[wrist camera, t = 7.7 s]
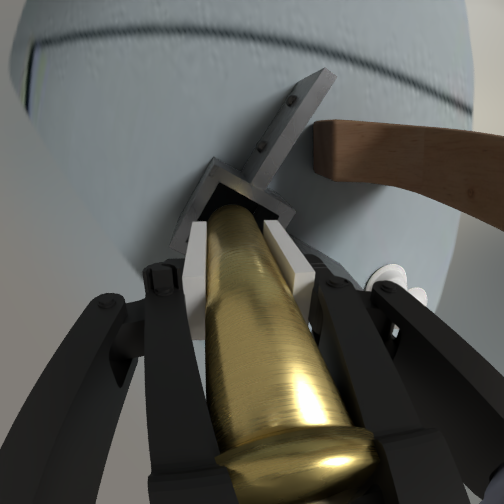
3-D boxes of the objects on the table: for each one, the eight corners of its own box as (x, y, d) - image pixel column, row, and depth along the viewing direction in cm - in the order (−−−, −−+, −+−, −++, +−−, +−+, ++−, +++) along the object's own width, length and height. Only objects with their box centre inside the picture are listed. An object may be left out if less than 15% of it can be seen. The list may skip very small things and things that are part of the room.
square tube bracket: (272, 65, 20) (291, 45, 15) (403, 164, 25) (444, 175, 19) (178, 220, 24) (168, 247, 19) (319, 292, 29) (342, 328, 23)
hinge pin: (201, 200, 18) (179, 483, 3) (261, 199, 19) (424, 436, 3) (203, 256, 20) (207, 534, 4) (259, 254, 20) (359, 509, 5)
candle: (358, 307, 30) (415, 383, 19) (373, 261, 28) (445, 329, 17) (396, 307, 31) (455, 374, 20) (411, 265, 29) (482, 325, 18)
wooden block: (311, 173, 24) (476, 259, 8) (311, 120, 22) (492, 121, 6) (399, 174, 25) (562, 243, 9) (400, 128, 23) (574, 159, 7)
